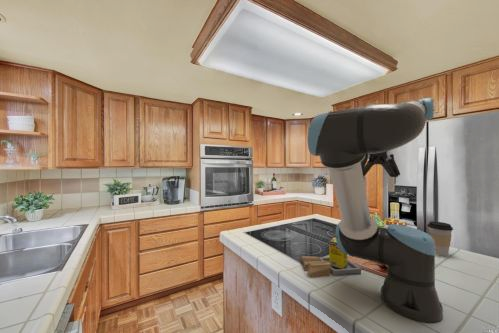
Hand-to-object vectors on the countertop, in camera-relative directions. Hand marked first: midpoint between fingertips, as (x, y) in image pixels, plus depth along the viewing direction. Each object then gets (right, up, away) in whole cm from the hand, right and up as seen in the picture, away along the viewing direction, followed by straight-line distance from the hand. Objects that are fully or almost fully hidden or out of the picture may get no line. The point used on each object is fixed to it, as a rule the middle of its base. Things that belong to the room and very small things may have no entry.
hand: (377, 191), depth 91 cm
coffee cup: (+38, -32, +12) cm, 52 cm away
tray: (-18, -32, -3) cm, 36 cm away
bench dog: (-28, -31, -9) cm, 43 cm away
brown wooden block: (-29, -32, -2) cm, 43 cm away
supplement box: (-18, -31, -3) cm, 36 cm away
